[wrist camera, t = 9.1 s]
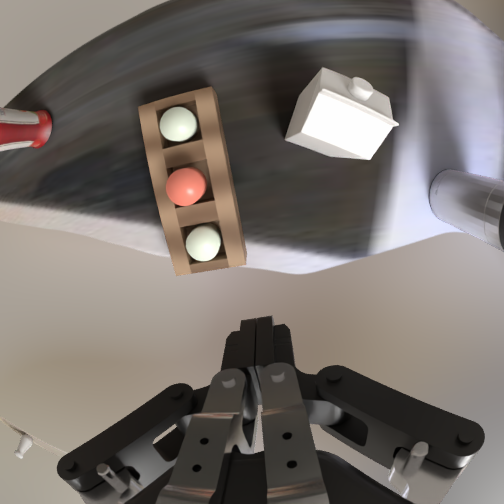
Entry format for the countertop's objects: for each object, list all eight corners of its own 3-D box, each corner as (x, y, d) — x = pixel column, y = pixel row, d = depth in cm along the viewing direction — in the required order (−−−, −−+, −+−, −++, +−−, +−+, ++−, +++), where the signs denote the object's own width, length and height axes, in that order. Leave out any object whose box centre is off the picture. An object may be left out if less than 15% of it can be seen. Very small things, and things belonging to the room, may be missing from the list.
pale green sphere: (165, 115, 35) (157, 112, 31) (196, 107, 34) (190, 103, 31) (170, 145, 36) (163, 144, 33) (201, 137, 36) (196, 136, 33)
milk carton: (330, 156, 39) (387, 162, 21) (283, 140, 38) (308, 129, 20) (344, 113, 37) (408, 90, 19) (298, 95, 36) (333, 53, 18)
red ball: (170, 171, 35) (162, 173, 32) (203, 163, 35) (198, 164, 31) (177, 204, 36) (170, 209, 33) (210, 197, 36) (205, 202, 33)
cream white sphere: (188, 225, 40) (182, 232, 37) (218, 219, 40) (215, 226, 36) (195, 254, 41) (190, 263, 38) (224, 249, 41) (222, 258, 38)
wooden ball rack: (150, 111, 37) (138, 106, 32) (216, 94, 36) (211, 86, 31) (183, 262, 44) (176, 275, 40) (246, 252, 44) (245, 264, 39)
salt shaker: (33, 438, 72) (22, 458, 60) (35, 442, 74) (24, 462, 61) (23, 430, 71) (11, 450, 59) (24, 435, 73) (13, 454, 61)
